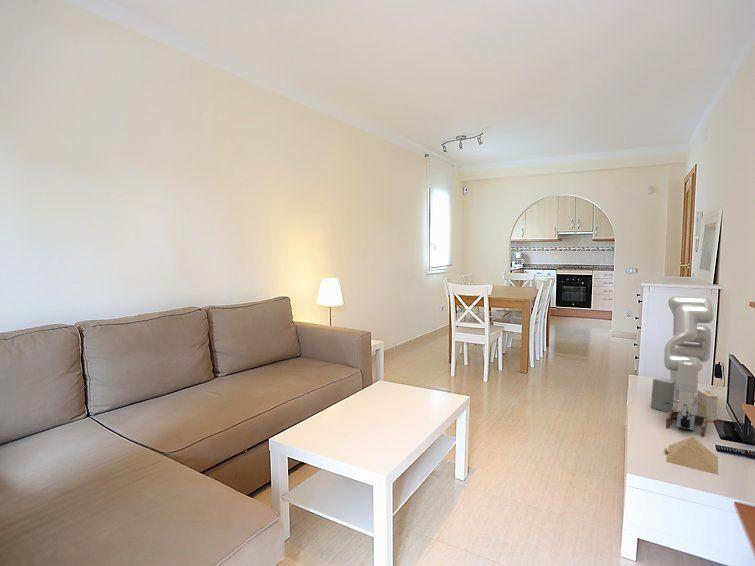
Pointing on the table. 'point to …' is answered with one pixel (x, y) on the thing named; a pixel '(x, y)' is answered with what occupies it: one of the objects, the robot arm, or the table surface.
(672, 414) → the walnut open-sided box
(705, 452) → the model pyramid
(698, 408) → the supplement box
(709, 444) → the table surface
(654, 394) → the skincare box
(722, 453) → the table surface
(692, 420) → the grey block
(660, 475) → the table surface
